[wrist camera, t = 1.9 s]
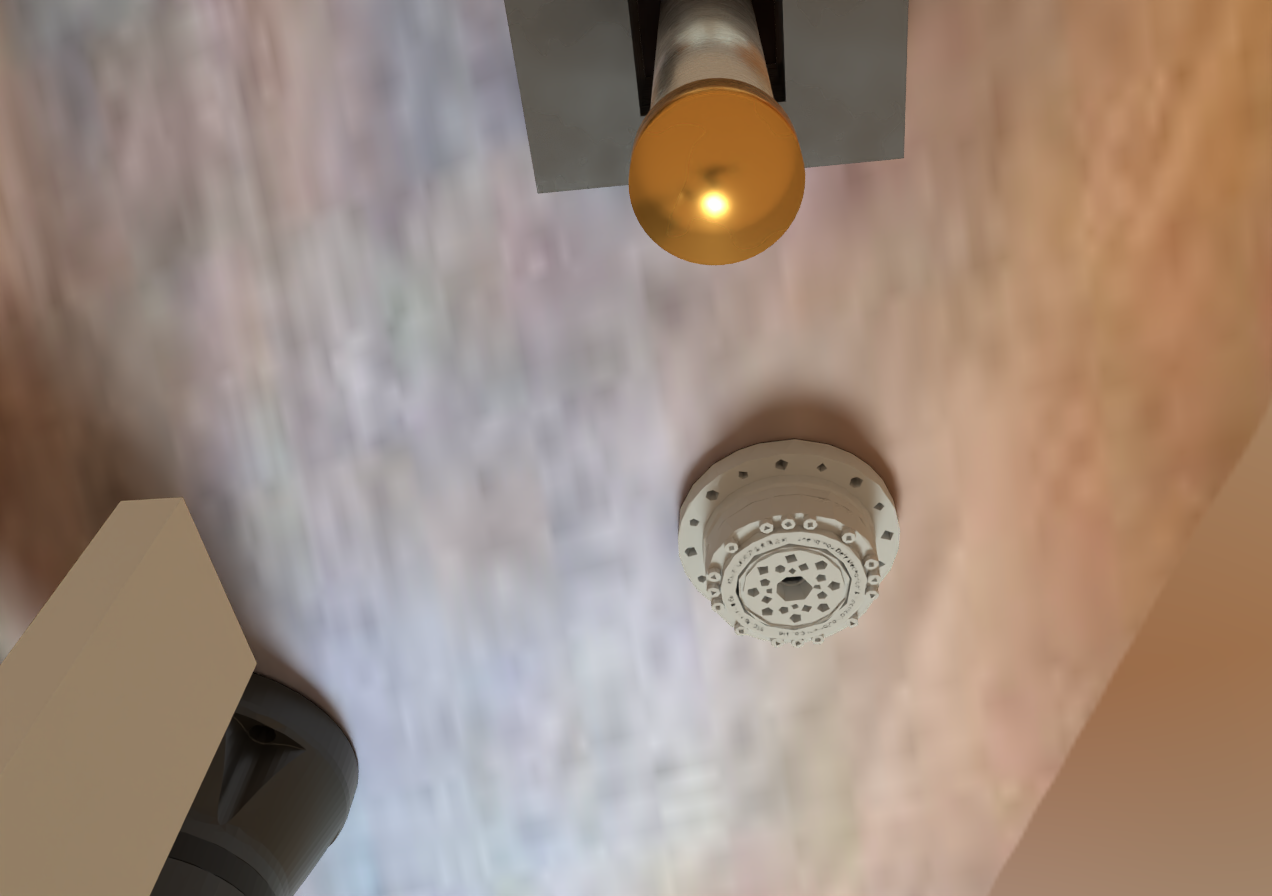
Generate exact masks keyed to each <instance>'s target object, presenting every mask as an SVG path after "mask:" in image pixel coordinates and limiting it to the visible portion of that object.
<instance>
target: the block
mask: <svg viewBox="0 0 1272 896" xmlns="http://www.w3.org/2000/svg"><path fill="white" fill-rule="evenodd" d="M504 3H505V8H506V14H507V20H508V26H509V31H510V37H511V43H512V49H513V54H514V60H515V66H516V71H517V77H518V83H519V89H520V94H521V100H522V106H523V112H524V117H525V123H526V129H527V135H528V140H529V146H530V152H531V157H532V163H533V169H534V175H535V180H536V186H537V192H538V193H548V192H559V191H569V190H580V189H590V188H600V187H611V186H621V185H629V170H630V163H631V155H632V149H633V144H634V140H635V137H636V134H637V131H638V129H639V127H640V125H641V123H642V121H643V119H644V118H645V117H646V115H647V114H648V112H649V111H650V107H651V97H652V87H653V77H645V70H644V60H643V51H642V42H641V32H640V23H639V14H638V4H637V0H504ZM774 21H775V47H776V63H775V64H766V67H767V72H768V76H769V80H770V85H771V89H772V94H773V98H774V100H775V101H776V102H777V103H778V104H779V105H780V106H781V107H782V108H783V110H784V111H785V112H786V114H787V115H788V117H789V119H790V120H791V122H792V124H793V127H794V129H795V132H796V134H797V138H798V142H799V146H800V150H801V153H802V158H803V162H804V168H808V167H818V166H829V165H839V164H849V163H860V162H870V161H880V160H891V159H901V158H904V136H905V102H906V68H907V34H908V0H774Z"/></svg>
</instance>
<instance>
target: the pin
mask: <svg viewBox="0 0 1272 896" xmlns="http://www.w3.org/2000/svg"><path fill="white" fill-rule="evenodd" d="M804 188H805V169H804V162H803V158H802V153H801V150H800V146H799V142H798V138H797V134H796V132H795V129H794V127H793V124H792V122H791V120H790V119H789V117H788V115H787V114H786V112H785V111H784V110H783V108H782V107H781V106H780V105H779V104H778V103H777V102H776V101H775V100H774V98H773V94H772V89H771V85H770V80H769V76H768V72H767V67H766V63H765V58H764V54H763V50H762V45H761V41H760V36H759V32H758V28H757V23H756V19H755V14H754V10H753V6H752V1H751V0H661V5H660V15H659V25H658V36H657V46H656V56H655V66H654V76H653V87H652V97H651V107H650V111H649V112H648V114H647V115H646V117H645V118H644V119H643V121H642V123H641V125H640V127H639V129H638V131H637V134H636V137H635V140H634V144H633V149H632V155H631V163H630V170H629V194H630V199H631V204H632V207H633V210H634V213H635V215H636V217H637V219H638V221H639V223H640V225H641V226H642V228H643V229H644V231H645V232H646V233H647V234H648V236H649V237H650V238H651V239H652V240H653V241H654V242H655V243H656V244H658V245H659V246H660V247H661V248H663V249H664V250H666V251H667V252H669V253H670V254H672V255H674V256H676V257H678V258H680V259H683V260H686V261H689V262H693V263H698V264H704V265H725V264H732V263H736V262H740V261H743V260H746V259H749V258H751V257H753V256H755V255H757V254H759V253H761V252H763V251H764V250H766V249H767V248H769V247H770V246H771V245H773V244H774V243H775V242H776V241H777V240H778V239H779V238H780V237H781V236H782V235H783V234H784V233H785V232H786V230H787V229H788V228H789V226H790V225H791V223H792V222H793V220H794V219H795V216H796V214H797V212H798V210H799V208H800V205H801V202H802V198H803V193H804Z"/></svg>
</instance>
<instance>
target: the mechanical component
mask: <svg viewBox="0 0 1272 896" xmlns="http://www.w3.org/2000/svg"><path fill="white" fill-rule="evenodd" d="M899 537H900V528H899V523H898V519H897V514H896V510H895V505H894V500H893V499H892V497H891V495H890V493H889V491H888V489H887V487H886V485H885V483H884V481H883V480H882V479H881V477H880V476H879V475H878V474H877V473H876V472H875V471H874V470H873V469H872V468H871V467H870V466H869V465H868V464H866V463H865V462H863V461H862V460H860V459H859V458H858V457H856V456H855V455H853V454H851V453H849V452H846V451H844V450H841V449H839V448H836V447H834V446H831V445H828V444H822V443H816V442H810V441H804V440H798V439H792V440H784V441H776V442H768V443H760V444H756V445H753V446H750V447H747V448H744V449H741V450H738V451H736V452H734V453H733V454H731V455H729V456H727V457H725V458H724V459H722V460H720V461H718V462H717V463H715V464H713V465H712V466H711V467H710V468H709V469H708V470H707V471H706V472H705V473H704V474H703V475H702V476H701V477H700V478H699V479H698V480H697V481H696V482H695V483H694V484H693V486H692V488H691V490H690V491H689V493H688V495H687V497H686V499H685V501H684V503H683V505H682V506H681V508H680V518H679V532H678V545H679V557H680V560H681V562H682V565H683V568H684V571H685V573H686V575H687V576H688V578H689V579H690V580H691V582H692V583H693V585H694V586H695V587H696V589H697V590H698V592H700V593H701V594H702V595H703V596H705V597H706V598H707V599H708V600H710V601H711V606H712V610H713V611H715V612H717V613H718V614H719V615H720V616H721V617H722V618H723V619H724V620H725V621H726V622H727V623H728V624H729V625H730V626H732V627H734V629H735V633H736V634H737V635H740V636H744V635H749V636H752V637H754V638H757V639H760V640H765V641H771V644H772V646H774V647H781V646H783V644H784V643H791V644H792V646H793V647H798V648H800V647H802V646H803V645H804V642H808V641H812V643H813V644H821V643H822V642H824V638H825V637H829V636H831V635H833V634H835V633H837V632H839V631H841V630H843V629H845V628H847V627H851V628H853V627H855V626H857V625H858V620H857V619H858V618H859V617H861V616H862V615H863V614H864V613H865V612H866V611H867V609H868V608H869V606H870V605H871V603H872V602H873V600H875V599H877V598H878V596H879V593H878V587H879V584H880V582H881V581H882V580H883V579H884V577H885V576H886V575H887V574H888V572H889V571H890V570H891V567H892V565H893V562H894V559H895V557H896V554H897V552H898V549H899Z"/></svg>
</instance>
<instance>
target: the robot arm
mask: <svg viewBox="0 0 1272 896" xmlns="http://www.w3.org/2000/svg"><path fill="white" fill-rule="evenodd" d="M256 664H257V663H256V661H255V658H254V656H253V654H252V652H251V649H250V647H249V645H248V643H247V640H246V638H245V636H244V634H243V631H242V629H241V627H240V625H239V622H238V620H237V618H236V616H235V614H234V611H233V609H232V607H231V605H230V602H229V600H228V598H227V596H226V593H225V591H224V589H223V587H222V584H221V582H220V580H219V578H218V575H217V573H216V571H215V569H214V566H213V564H212V562H211V560H210V557H209V555H208V553H207V551H206V548H205V546H204V544H203V542H202V539H201V537H200V535H199V533H198V530H197V528H196V526H195V524H194V521H193V519H192V517H191V515H190V512H189V510H188V508H187V506H186V503H185V501H184V499H183V497H177V498H161V499H145V500H129V501H120V503H119V504H118V505H117V507H116V508H115V509H114V511H113V512H112V513H111V515H110V516H109V518H108V519H107V520H106V522H105V523H104V524H103V526H102V527H101V528H100V530H99V531H98V533H97V534H96V535H95V537H94V538H93V539H92V541H91V542H90V544H89V545H88V546H87V548H86V549H85V550H84V552H83V553H82V554H81V556H80V557H79V559H78V560H77V561H76V563H75V564H74V565H73V567H72V568H71V569H70V571H69V572H68V574H67V575H66V576H65V578H64V579H63V580H62V582H61V583H60V584H59V586H58V587H57V589H56V590H55V591H54V593H53V594H52V595H51V597H50V598H49V600H48V601H47V602H46V604H45V605H44V606H43V608H42V609H41V610H40V612H39V613H38V615H37V616H36V617H35V619H34V620H33V621H32V623H31V624H30V625H29V627H28V628H27V630H26V631H25V632H24V634H23V635H22V636H21V638H20V639H19V641H18V642H17V643H16V645H15V646H14V647H13V649H12V650H11V651H10V653H9V654H8V656H7V657H6V658H5V660H4V661H3V662H2V664H1V665H0V896H293V895H294V894H295V893H296V891H297V890H298V889H299V887H300V886H301V885H302V883H303V882H304V881H305V879H306V878H307V877H308V875H309V874H310V873H311V871H312V870H313V868H314V867H315V866H316V864H317V863H318V861H319V860H320V858H321V857H322V856H323V854H324V853H325V851H326V850H327V848H328V847H329V846H330V845H331V844H332V843H333V842H334V841H335V839H336V838H337V836H338V835H339V833H340V832H341V830H342V828H343V826H344V824H345V822H346V820H347V817H348V814H349V811H350V807H351V804H352V801H353V798H354V795H355V792H356V788H357V784H358V766H357V761H356V757H355V754H354V751H353V749H352V747H351V745H350V743H349V741H348V740H347V738H346V737H345V735H344V734H343V732H342V731H341V730H340V728H339V727H338V726H337V725H336V724H335V723H334V721H333V720H332V719H331V718H330V717H329V716H328V715H326V714H325V713H324V712H323V711H322V710H321V709H320V708H318V707H317V706H316V705H314V704H313V703H312V702H310V701H309V700H308V699H306V698H304V697H303V696H301V695H300V694H298V693H296V692H295V691H293V690H291V689H289V688H287V687H285V686H283V685H281V684H279V683H277V682H275V681H272V680H270V679H267V678H265V677H262V676H259V675H256V674H253V671H254V669H255V666H256Z"/></svg>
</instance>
